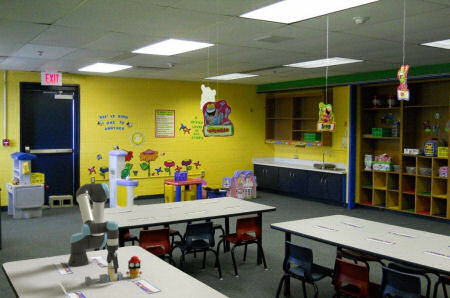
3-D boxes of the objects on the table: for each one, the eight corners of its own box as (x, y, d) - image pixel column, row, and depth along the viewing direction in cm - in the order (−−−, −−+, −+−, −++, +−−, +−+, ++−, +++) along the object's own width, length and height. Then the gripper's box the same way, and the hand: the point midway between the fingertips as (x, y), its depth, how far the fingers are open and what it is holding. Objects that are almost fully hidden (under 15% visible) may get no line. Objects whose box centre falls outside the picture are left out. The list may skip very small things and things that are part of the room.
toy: (126, 279, 312) (126, 258, 311) (125, 275, 320) (125, 254, 320) (142, 278, 315) (142, 257, 314) (141, 274, 323) (141, 253, 323)
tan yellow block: (107, 279, 309) (107, 266, 308) (115, 278, 311) (115, 265, 311) (109, 281, 304) (109, 268, 304) (117, 280, 307) (117, 267, 306)
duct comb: (85, 284, 301) (85, 276, 301) (120, 278, 313) (120, 271, 313) (87, 287, 296) (87, 279, 295) (122, 281, 308) (122, 274, 308)
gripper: (102, 241, 316) (102, 270, 316) (112, 249, 294) (112, 281, 295) (112, 239, 319) (112, 269, 320) (123, 247, 298) (123, 279, 299)
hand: (112, 275), depth 307 cm, fingers open, 13 cm apart
